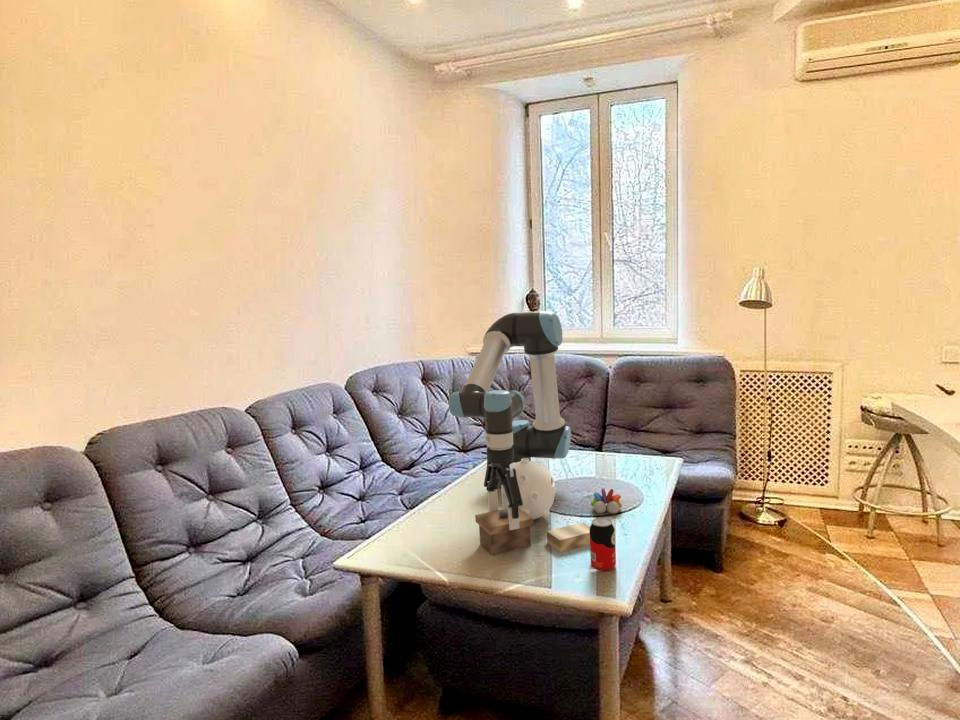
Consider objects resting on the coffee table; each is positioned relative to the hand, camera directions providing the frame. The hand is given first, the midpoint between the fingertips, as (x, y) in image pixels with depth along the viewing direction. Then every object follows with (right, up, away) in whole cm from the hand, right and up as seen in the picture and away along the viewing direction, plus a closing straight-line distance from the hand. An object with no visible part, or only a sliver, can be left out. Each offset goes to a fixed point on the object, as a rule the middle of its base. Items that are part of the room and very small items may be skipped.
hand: (503, 520), depth 166 cm
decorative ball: (+9, -5, +20) cm, 22 cm away
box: (+1, -8, +1) cm, 8 cm away
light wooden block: (+19, -7, 0) cm, 20 cm away
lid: (0, -1, 0) cm, 1 cm away
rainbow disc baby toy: (+34, -3, +24) cm, 42 cm away
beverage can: (+25, -8, -13) cm, 30 cm away
